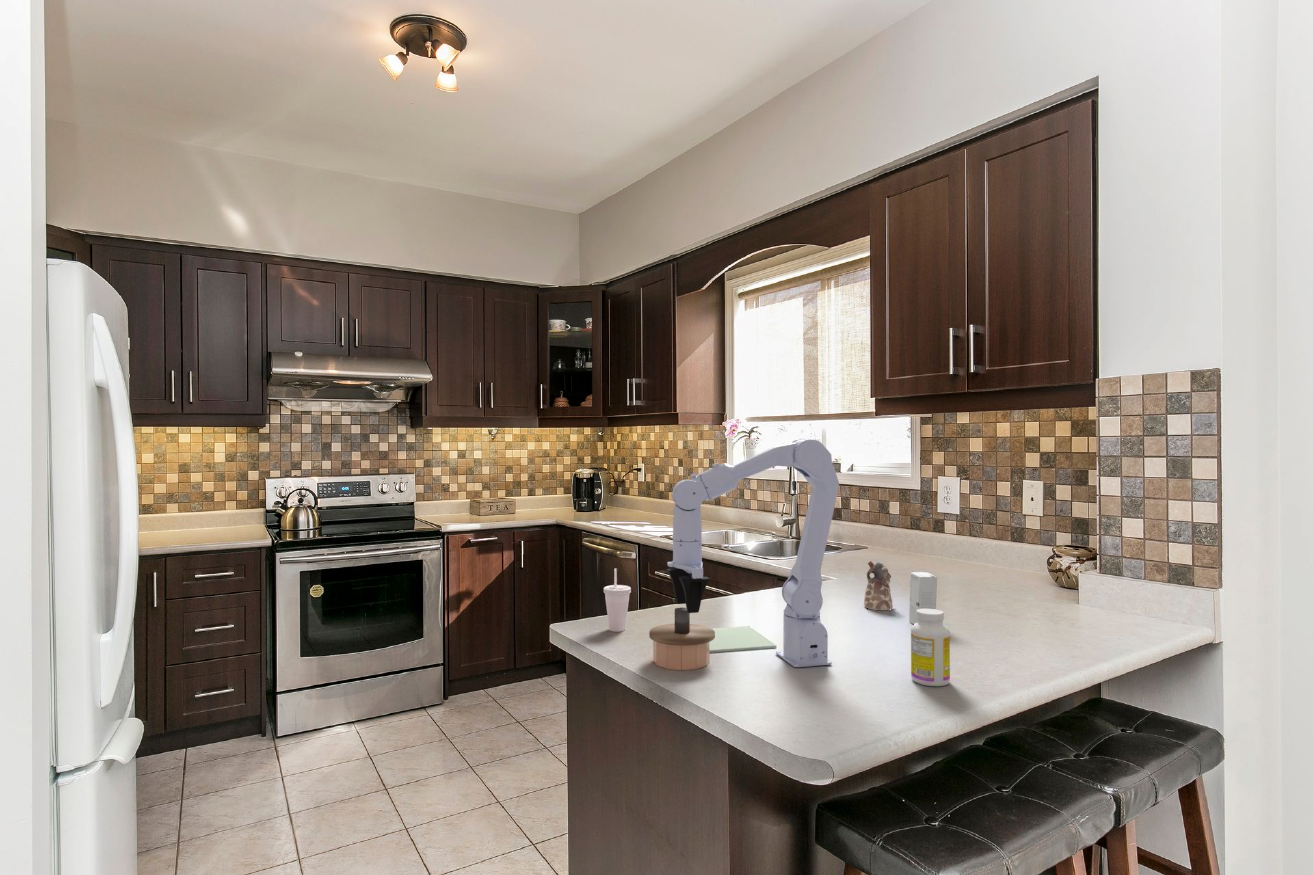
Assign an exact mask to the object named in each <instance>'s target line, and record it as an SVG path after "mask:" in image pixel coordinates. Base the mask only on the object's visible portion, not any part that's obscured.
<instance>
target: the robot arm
mask: <svg viewBox="0 0 1313 875" xmlns="http://www.w3.org/2000/svg"><path fill="white" fill-rule="evenodd" d="M711 466H712V467H711V468H709V469H707V470H704V471H703V472H700V473H698V474H696V473H692V474H690V478H691V479H682V480H679V481H678V482H676V484H675V485H674V486H673V489H672V492H671V498H672V501H673V502H674V503H675V504H674V505H673V506H674V507H673V510H672V511H673V514H674V515H673V517H672V533H673V534H672V545H673V546H672V561H667V566H668V567H669V568H667V570H666V571H667V573H668V575H669V577H670V580H671V583H672V586H673V591H674V596H675V600H676V604H677V605H685V608H687V612H688V613H690V614H697V613H698V614H699V612H700V609H701V604H702V600H703V599H702V598H703V595H704V592H705V590H706V588H707V585H708V584H709V582H710V577H708V576H704V567H703V566H704V565H703V564H704V563H703V561H702V560H703V558H702V557H703V551H702V549H703V548H702V546H703V544H702V543H703V541H702V540H703V539H702V538H703V537H702V534H703V533H702V528H703V527H702V526H703V524H702V519H703V518H702V516H701V514H702V513H701V505H702V504H703V503H704V501H706V502H709V501H712V500H714V499H716V498H718V497H721V496H723V495H725V494H728V493H730V492H732V491H735V490H736V489H737V487H738V485H739V482H740V481H741V480H743V479H747V478H750V477H751V476H754V475H757V474H759V473H761V472H764V471H767V470H768V469H771V468H773V467H785V468H786V467H788V468H793V469H795V470H796V471H797V472H799V473H800V474H801V475H803V478H804V479H805V480H806V482H807V483H808V484H809V486H810V488H811V490H810V496H809V500H808V505H807V510H806V514H805V517H804V518H805V519H804V524H803V528H802V532H801V537H800V540H799V546H798V550H797V554H796V560H795V563H794V565H793V566H792V567H791V569H790V574H789V576H788V578H787V579H786V580H785V582H784V583H783V586H782V588H781V595H782V599H783V600H784V602H785V603H786V606H785V607H784V609H783V634H782V635H783V644H782V646H783V647H782V648H783V650H776V651H775V654H776V655H777V656H778V657H780V658H781V659H783V660H784V661H785V662H787V663H788V664H789V665H791V666H792V667H794V668H804V667H805V668H807V667H815V666H817V667H818V666H829V665H832V664H833V662H832V661H831V660H829V659H828V652H829V651H828V646H829V644H828V636H829V635H828V631H827V629H826V627H825V626H824V624H822V621H821V609H822V607H823V603H824V599H823V595H822V585H823V581H822V580H823V579H822V573H821V572H822V571H821V570H822V565H823V561H824V557H825V556H824V555H825V552H826V547H827V542H828V537H829V533H830V529H831V523H832V520H833V514H834V510H835V506H836V501H837V497H838V492H839V487H840V482H839V478H838V475H837V473H836V469H835V466H834V463H833V460H832V453H831V451H829V450H828V449H827V447H826V446H825V445H824V444H823V443H822V442H821V441H819V440H817V439H813V438H807V439H805V438H797V439H794V440H793V441H791V442H788V441H787V442H785V443H781V444H778V445H775V446H773V447H771V448H768V449H767V450H764V451H762V452H760V453H757V454H755V455H754V456H751V457H749V458H747V459H745V460H743V461H740V462H739V463H737V464H734V465H730V464H728V463H725V462H723V463H719V462H716V463H712V465H711Z"/></svg>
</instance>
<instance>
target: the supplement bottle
mask: <svg viewBox="0 0 1313 875" xmlns="http://www.w3.org/2000/svg"><path fill="white" fill-rule="evenodd" d="M944 614H945V613H944V611H943V610H939V609H937V608H936V609H918V610H917V611H916V617H917V619H918V622H917V623H915V624H914V625H913V624H912V626H911V627H910V662H911V663H910V671H911V672H910V673H911V674H910V676H911V679H912V681H913V682H915V683H916V684H919V685H922V686H925V687H943V686H946V685H948V684H949V683H950V681H951V680H950V679H951V678H950V677H951V676H950V675H951V667H950V666H951V660H950V659H951V658H950V657H951V652H950V650H951V649H950V645H951V643H950V641H951V640H950V638H951V633H950V630H949V629H950V628H949V627H947V625H944V623H943V622H944V619H945V615H944Z"/></svg>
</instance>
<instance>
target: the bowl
mask: <svg viewBox="0 0 1313 875" xmlns="http://www.w3.org/2000/svg"><path fill="white" fill-rule="evenodd" d="M652 646H653V648H652V654H653V655H652V661H653V663H654V662H655V663H654V664H655V666H657V665H658V666H657V667H661V668H663V667H664V668H663V669H666V670H674V671H689V670H691V669H692V670H698V669H701V668H704V667H707V665H708V664H709V663H710V653H709V642H708V643H704V644H699V645H687V646H680V645H668V644H662V643H659V642H656V641H653V640H652Z"/></svg>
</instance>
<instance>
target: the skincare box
mask: <svg viewBox="0 0 1313 875" xmlns="http://www.w3.org/2000/svg"><path fill="white" fill-rule="evenodd" d="M909 584H910V585H909V611H908V613H909V614H908V616H909V618H908V621H909V623H911V624H912V623H913V624H915V623H917V622H918V619H917V617H916V611H917V610H918V609H936V610H937V594H938V593H937V590H938V577H937V576H936V575H934V574H932V573H930V572H926V571H914V572H910V583H909ZM913 624H912V625H913Z"/></svg>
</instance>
